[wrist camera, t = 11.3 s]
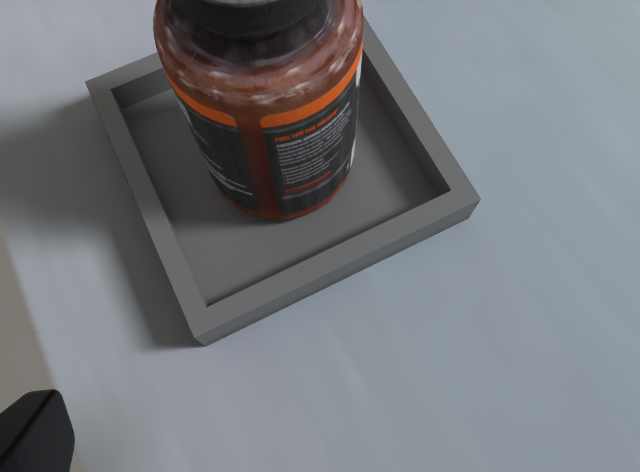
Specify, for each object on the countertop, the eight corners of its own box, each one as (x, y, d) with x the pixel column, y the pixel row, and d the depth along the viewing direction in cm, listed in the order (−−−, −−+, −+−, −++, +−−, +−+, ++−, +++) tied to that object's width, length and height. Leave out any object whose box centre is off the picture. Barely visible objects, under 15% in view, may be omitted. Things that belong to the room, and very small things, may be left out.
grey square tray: (468, 218, 24) (480, 199, 22) (205, 346, 22) (194, 338, 20) (338, 10, 27) (339, -23, 25) (102, 108, 26) (85, 81, 24)
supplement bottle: (379, 134, 25) (422, -102, 14) (306, 251, 23) (289, 85, 12) (259, 73, 26) (211, -191, 15) (180, 181, 24) (63, -29, 13)
